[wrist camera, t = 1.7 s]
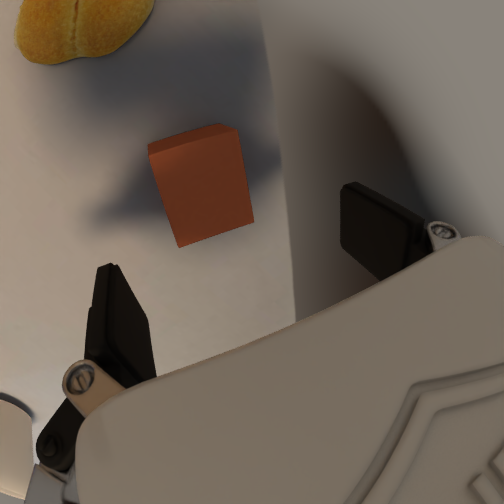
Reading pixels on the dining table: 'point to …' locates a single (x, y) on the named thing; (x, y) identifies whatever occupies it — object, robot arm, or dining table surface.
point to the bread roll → (76, 27)
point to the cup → (15, 450)
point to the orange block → (202, 182)
